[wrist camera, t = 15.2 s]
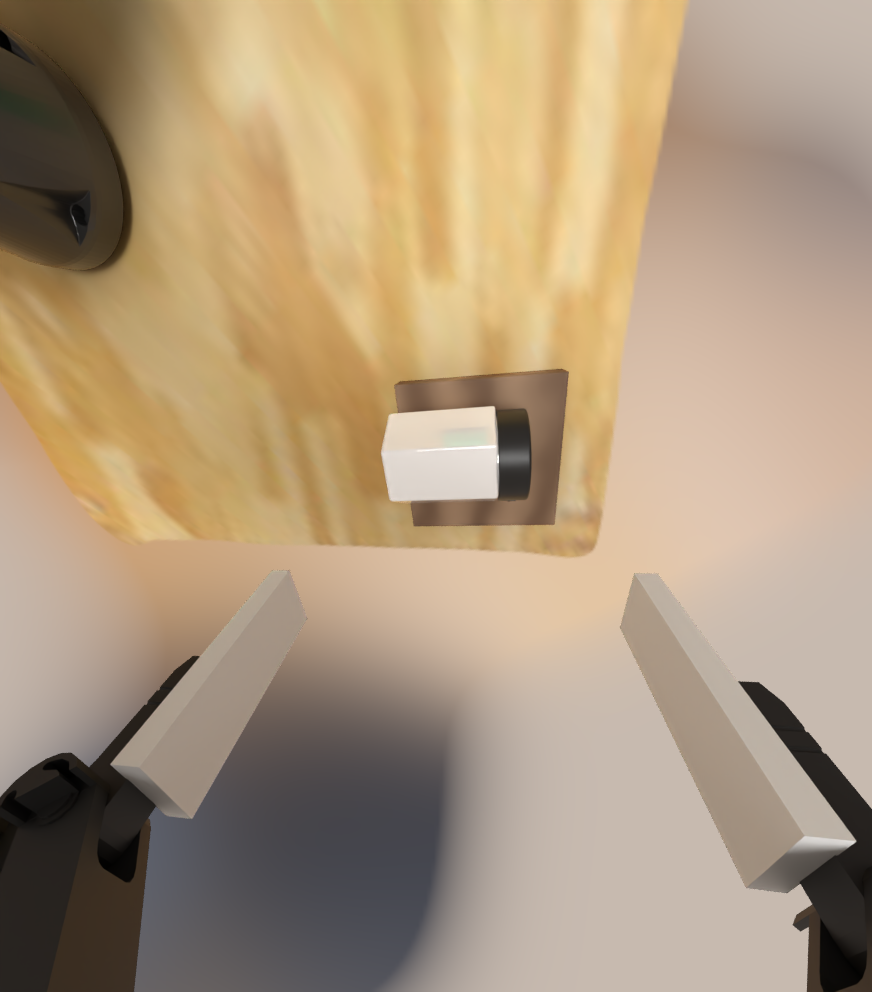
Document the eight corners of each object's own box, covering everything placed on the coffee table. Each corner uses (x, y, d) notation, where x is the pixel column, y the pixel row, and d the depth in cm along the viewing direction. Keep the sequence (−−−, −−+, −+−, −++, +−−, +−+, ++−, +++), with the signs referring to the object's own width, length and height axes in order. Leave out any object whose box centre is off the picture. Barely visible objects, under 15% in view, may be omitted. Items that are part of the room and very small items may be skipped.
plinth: (417, 515, 40) (413, 526, 38) (399, 381, 33) (394, 385, 31) (550, 513, 38) (554, 524, 36) (562, 368, 31) (568, 371, 28)
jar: (400, 523, 31) (526, 521, 29) (374, 472, 24) (536, 465, 22) (409, 453, 36) (518, 448, 34) (390, 395, 29) (524, 384, 27)
